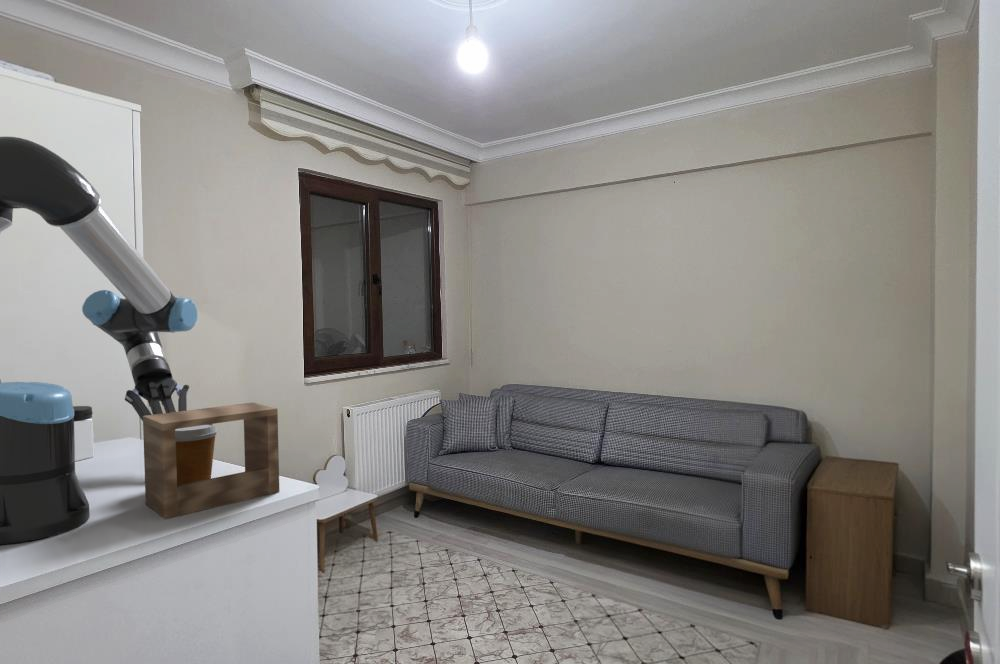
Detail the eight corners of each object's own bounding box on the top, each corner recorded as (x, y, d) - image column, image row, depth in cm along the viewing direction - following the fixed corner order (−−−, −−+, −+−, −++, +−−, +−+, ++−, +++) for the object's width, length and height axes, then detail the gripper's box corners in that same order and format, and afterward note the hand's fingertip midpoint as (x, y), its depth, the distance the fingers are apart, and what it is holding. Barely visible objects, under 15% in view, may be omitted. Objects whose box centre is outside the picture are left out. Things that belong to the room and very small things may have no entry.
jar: (95, 459, 140) (93, 409, 139) (52, 465, 135) (50, 413, 134) (92, 452, 147) (90, 404, 146) (51, 457, 142) (49, 408, 141)
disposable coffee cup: (229, 482, 120) (227, 424, 119) (185, 495, 111) (183, 433, 111) (199, 476, 124) (198, 420, 124) (155, 488, 116) (153, 428, 115)
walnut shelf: (165, 519, 99) (161, 423, 98) (145, 504, 107) (142, 415, 106) (279, 491, 113) (277, 408, 113) (255, 480, 121) (253, 402, 120)
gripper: (177, 375, 142) (204, 455, 131) (114, 380, 133) (138, 467, 122) (183, 354, 138) (212, 435, 127) (119, 358, 129) (145, 446, 118)
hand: (176, 451), depth 125 cm, fingers closed
